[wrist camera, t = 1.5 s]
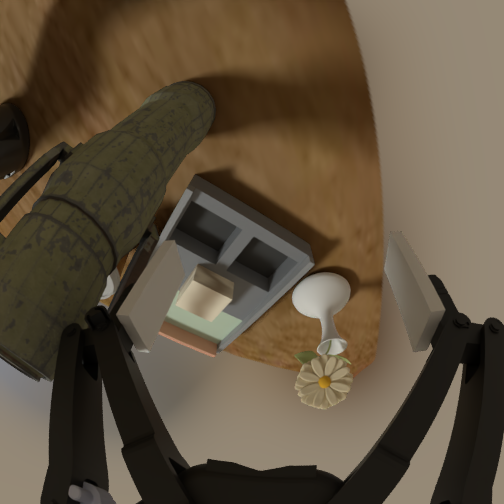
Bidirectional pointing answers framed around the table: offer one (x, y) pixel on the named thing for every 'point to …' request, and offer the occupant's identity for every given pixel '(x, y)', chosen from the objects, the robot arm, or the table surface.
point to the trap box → (229, 263)
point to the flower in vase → (323, 341)
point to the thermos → (90, 222)
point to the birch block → (205, 293)
